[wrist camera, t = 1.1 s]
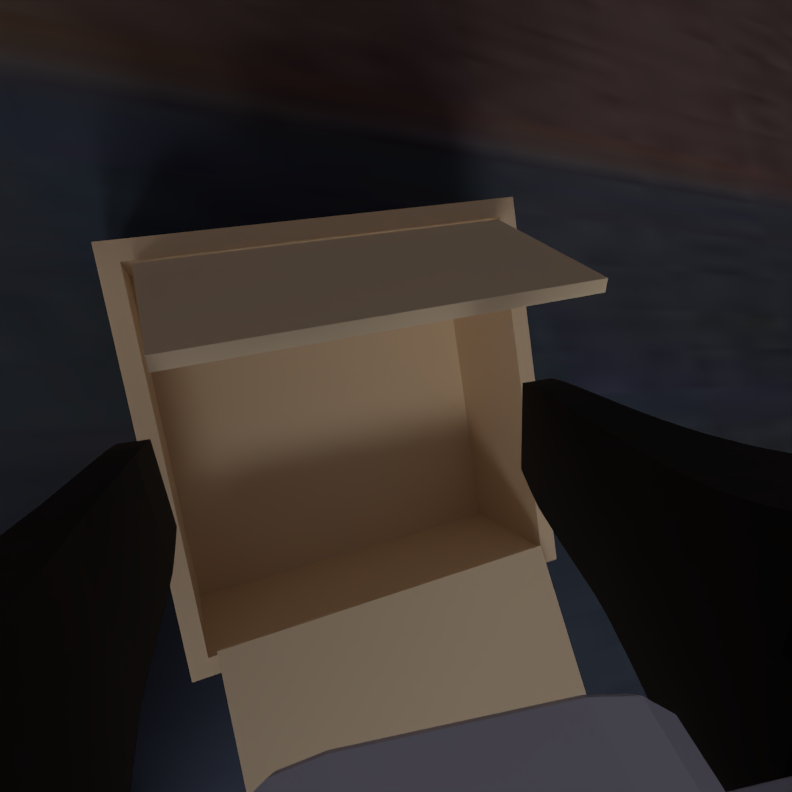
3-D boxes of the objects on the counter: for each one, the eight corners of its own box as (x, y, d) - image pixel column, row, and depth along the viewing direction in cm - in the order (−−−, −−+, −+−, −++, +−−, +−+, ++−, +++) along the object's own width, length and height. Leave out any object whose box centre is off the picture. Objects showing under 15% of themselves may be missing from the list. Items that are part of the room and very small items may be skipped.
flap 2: (540, 545, 22) (534, 545, 22) (217, 651, 18) (216, 649, 19) (590, 707, 21) (583, 704, 21) (259, 853, 17) (258, 847, 18)
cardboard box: (490, 520, 28) (556, 559, 23) (187, 612, 23) (192, 682, 19) (449, 221, 25) (512, 196, 21) (107, 262, 21) (91, 242, 17)
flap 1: (604, 292, 16) (607, 278, 16) (148, 372, 12) (143, 355, 12) (496, 230, 20) (497, 219, 20) (135, 277, 17) (131, 263, 17)
